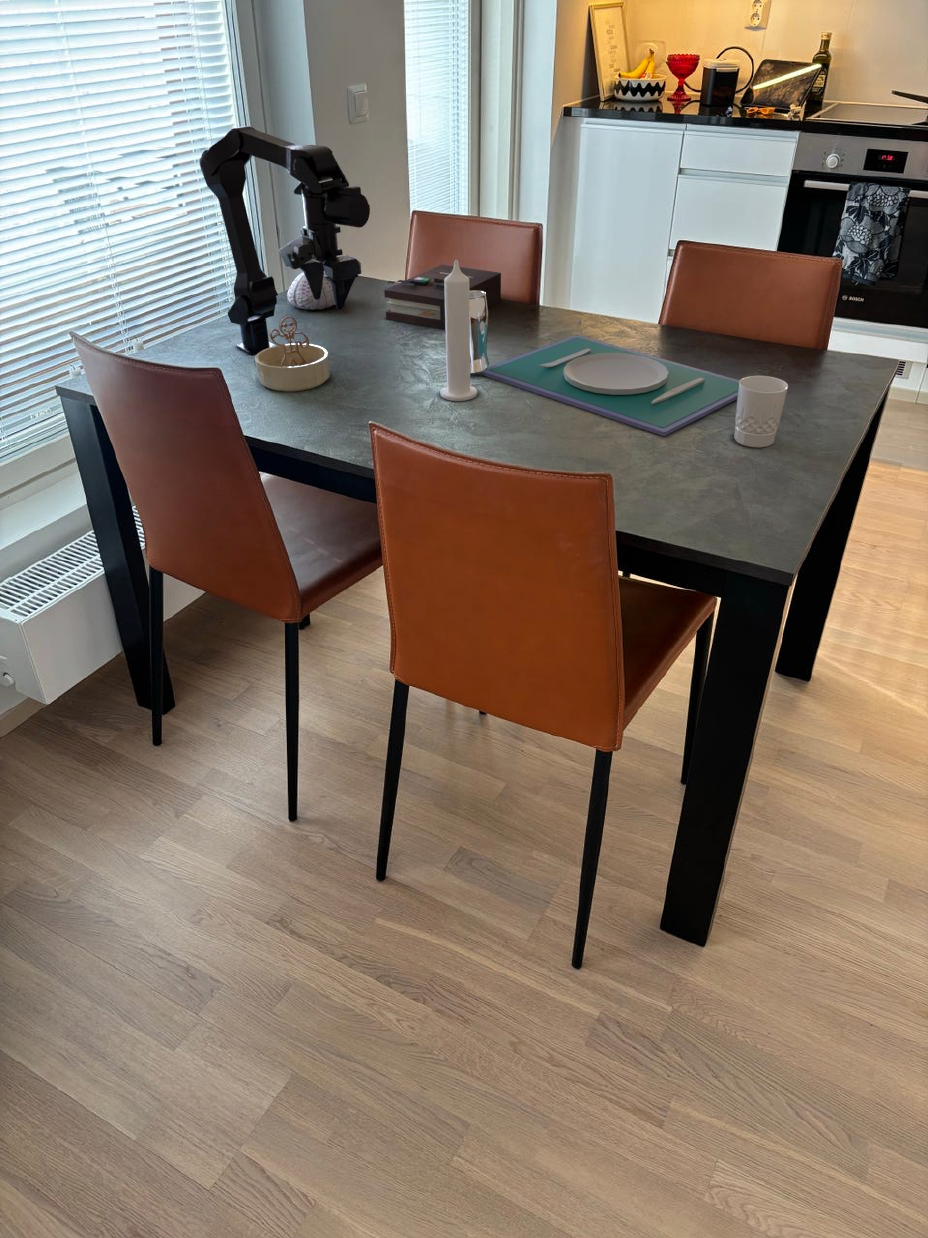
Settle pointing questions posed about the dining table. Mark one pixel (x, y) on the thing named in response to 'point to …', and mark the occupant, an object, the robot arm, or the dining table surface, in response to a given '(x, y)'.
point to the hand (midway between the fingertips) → (328, 304)
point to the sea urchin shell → (310, 294)
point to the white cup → (759, 410)
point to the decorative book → (435, 295)
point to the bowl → (292, 368)
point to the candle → (457, 337)
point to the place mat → (619, 383)
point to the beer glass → (478, 332)
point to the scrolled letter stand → (289, 340)
